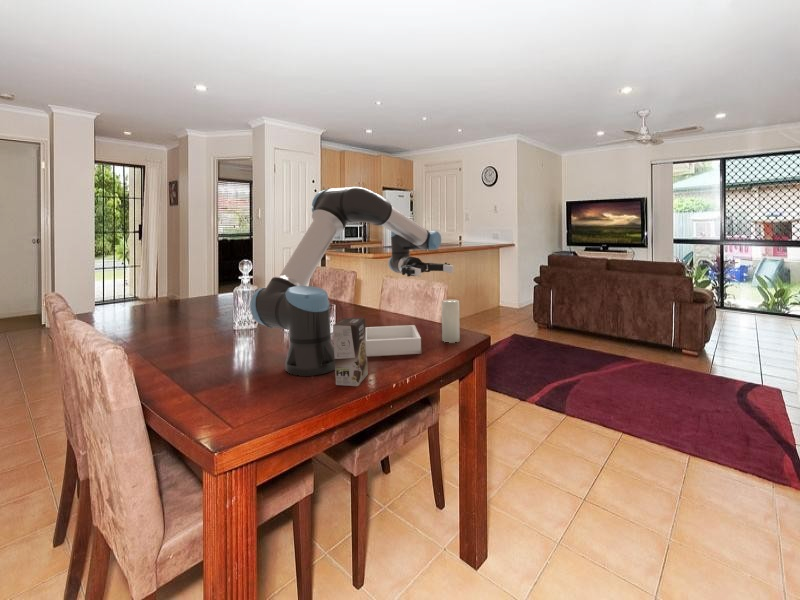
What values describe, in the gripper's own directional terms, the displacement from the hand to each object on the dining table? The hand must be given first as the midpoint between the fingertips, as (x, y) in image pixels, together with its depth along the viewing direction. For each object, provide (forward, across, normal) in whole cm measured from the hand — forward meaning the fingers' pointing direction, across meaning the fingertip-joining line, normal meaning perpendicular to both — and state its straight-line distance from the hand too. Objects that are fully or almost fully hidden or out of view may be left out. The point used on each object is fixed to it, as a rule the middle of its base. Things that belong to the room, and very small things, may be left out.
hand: (436, 271), depth 155 cm
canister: (+10, +1, -23) cm, 25 cm away
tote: (+7, +22, -23) cm, 32 cm away
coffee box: (+30, +43, -23) cm, 57 cm away
